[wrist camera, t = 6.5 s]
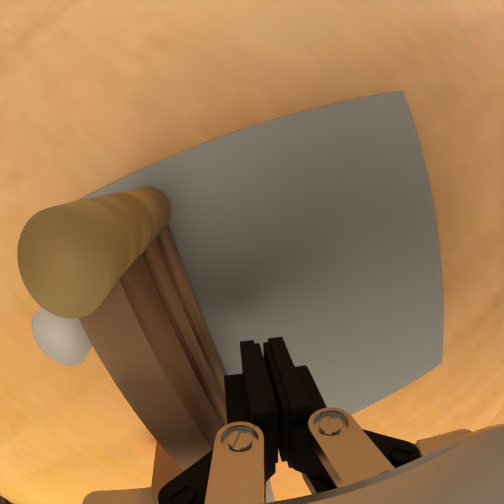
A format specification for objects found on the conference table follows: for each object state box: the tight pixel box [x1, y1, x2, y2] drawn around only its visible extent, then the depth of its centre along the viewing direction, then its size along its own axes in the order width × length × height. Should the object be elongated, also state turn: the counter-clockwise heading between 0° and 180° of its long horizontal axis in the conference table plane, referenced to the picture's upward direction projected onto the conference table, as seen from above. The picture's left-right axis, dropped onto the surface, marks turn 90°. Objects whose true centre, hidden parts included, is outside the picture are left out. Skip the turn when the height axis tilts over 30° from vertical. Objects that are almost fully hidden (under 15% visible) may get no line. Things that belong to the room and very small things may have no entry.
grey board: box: [32, 91, 443, 503], centre depth 12 cm, size 24×22×11 cm
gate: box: [18, 187, 227, 471], centre depth 11 cm, size 16×2×9 cm, turn 15°
